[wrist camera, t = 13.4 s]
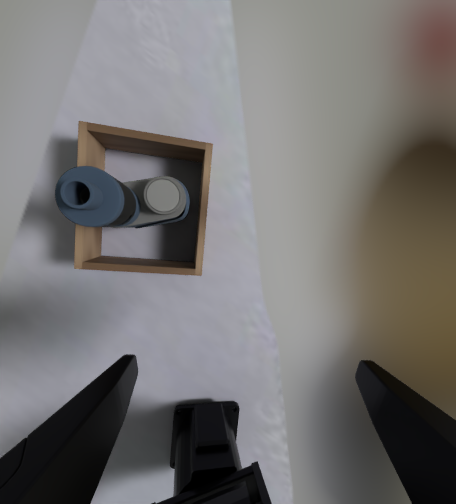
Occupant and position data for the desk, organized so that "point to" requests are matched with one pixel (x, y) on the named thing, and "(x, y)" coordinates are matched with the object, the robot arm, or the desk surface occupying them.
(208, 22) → the desk surface
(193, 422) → the robot arm
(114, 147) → the box
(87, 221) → the vaping device
